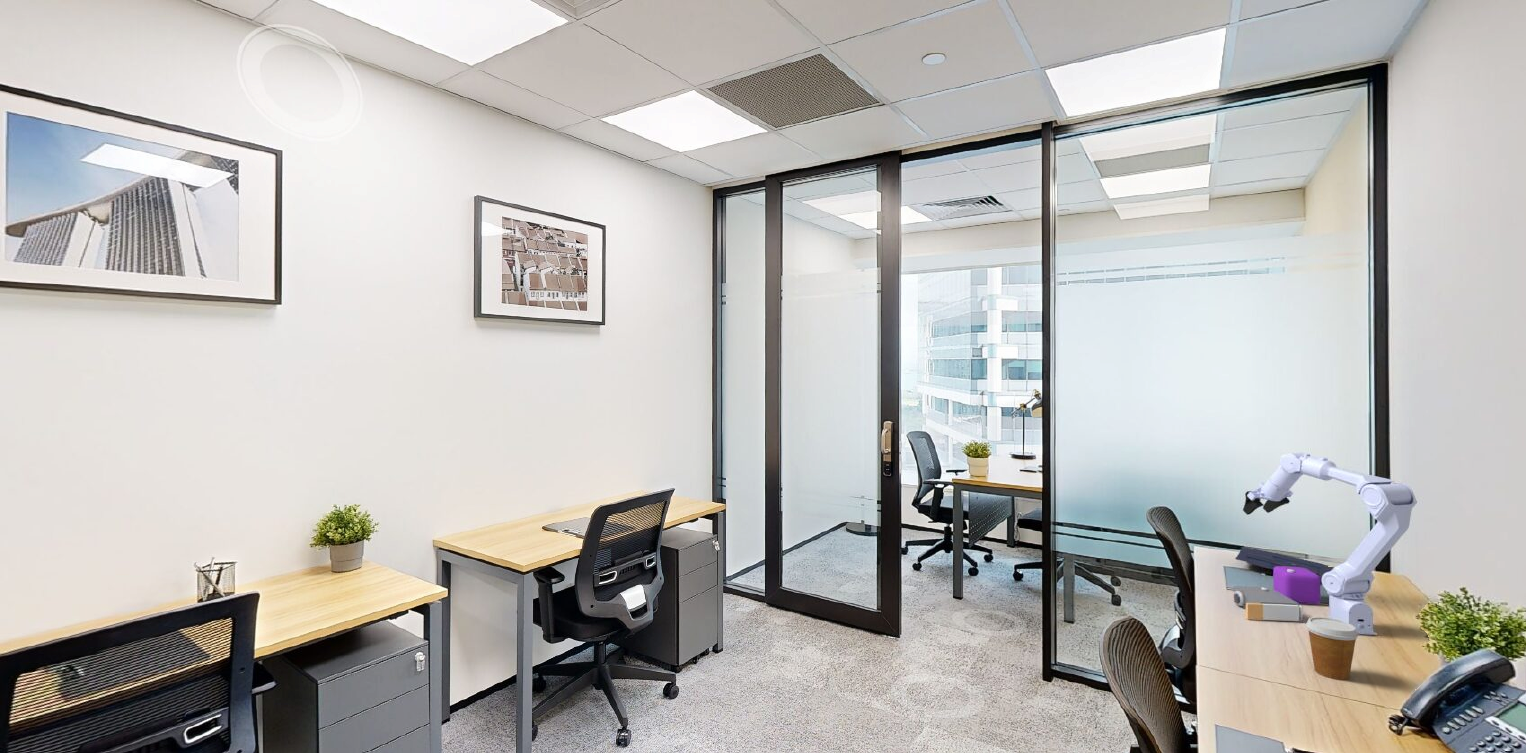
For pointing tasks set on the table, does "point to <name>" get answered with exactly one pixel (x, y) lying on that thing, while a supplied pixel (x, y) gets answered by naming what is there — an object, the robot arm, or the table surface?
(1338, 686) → the table surface
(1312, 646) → the disposable coffee cup
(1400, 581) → the table surface
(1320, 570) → the dark grey slab
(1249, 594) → the grey box
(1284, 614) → the side door
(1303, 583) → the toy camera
